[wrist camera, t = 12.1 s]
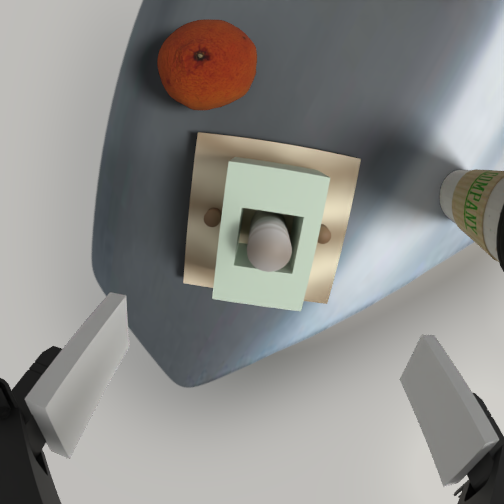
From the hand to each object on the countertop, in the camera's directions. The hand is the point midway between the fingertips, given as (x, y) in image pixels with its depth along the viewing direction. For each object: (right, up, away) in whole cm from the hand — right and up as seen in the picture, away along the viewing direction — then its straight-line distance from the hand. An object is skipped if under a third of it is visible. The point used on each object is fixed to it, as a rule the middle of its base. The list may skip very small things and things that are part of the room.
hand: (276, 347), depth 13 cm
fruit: (-5, +22, +15) cm, 27 cm away
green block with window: (0, +7, +19) cm, 20 cm away
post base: (+1, +7, +20) cm, 22 cm away
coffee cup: (+23, +11, +18) cm, 32 cm away
